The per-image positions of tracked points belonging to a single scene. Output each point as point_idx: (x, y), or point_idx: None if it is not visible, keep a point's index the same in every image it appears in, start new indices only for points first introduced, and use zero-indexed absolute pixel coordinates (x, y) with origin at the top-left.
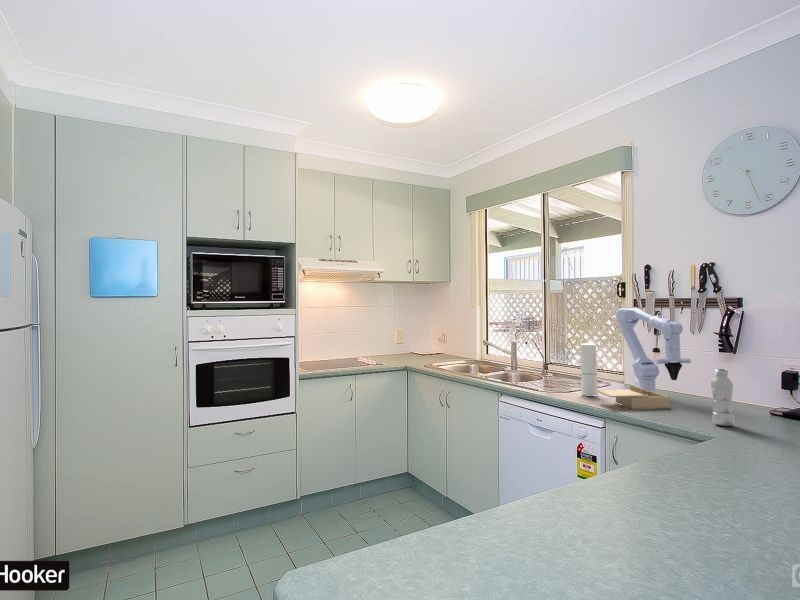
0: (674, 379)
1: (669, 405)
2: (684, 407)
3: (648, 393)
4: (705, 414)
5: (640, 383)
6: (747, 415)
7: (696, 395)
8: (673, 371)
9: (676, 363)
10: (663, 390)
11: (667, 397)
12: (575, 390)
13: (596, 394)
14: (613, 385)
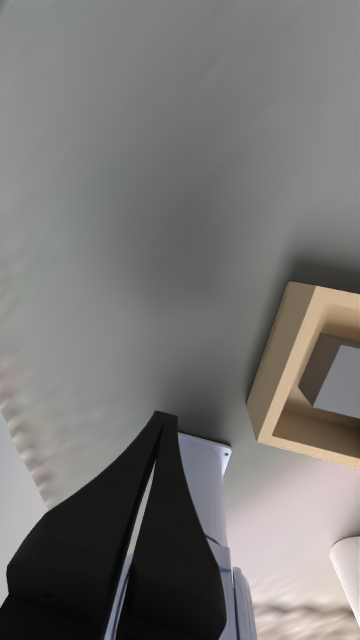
0: (173, 417)
1: (296, 282)
2: (205, 284)
3: (274, 428)
4: (240, 127)
5: (226, 531)
6: (75, 57)
7: (14, 424)
8: (177, 480)
9: (64, 633)
10: None
11: (327, 288)
12: (327, 613)
13: (356, 546)
14: None
